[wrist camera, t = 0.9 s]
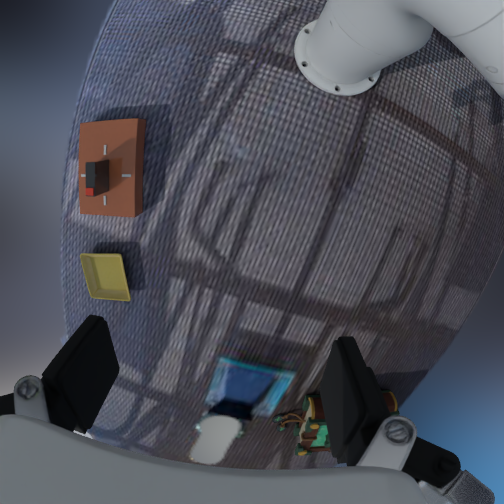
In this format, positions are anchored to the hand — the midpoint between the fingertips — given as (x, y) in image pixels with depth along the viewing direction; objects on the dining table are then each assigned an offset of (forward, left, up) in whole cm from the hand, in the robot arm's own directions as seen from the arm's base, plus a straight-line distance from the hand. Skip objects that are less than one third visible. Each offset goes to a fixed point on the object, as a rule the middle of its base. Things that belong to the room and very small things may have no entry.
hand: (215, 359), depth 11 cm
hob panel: (-4, -21, -31) cm, 37 cm away
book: (+47, +23, -31) cm, 61 cm away
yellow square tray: (+14, -23, -31) cm, 41 cm away
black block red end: (-3, -21, -28) cm, 35 cm away
